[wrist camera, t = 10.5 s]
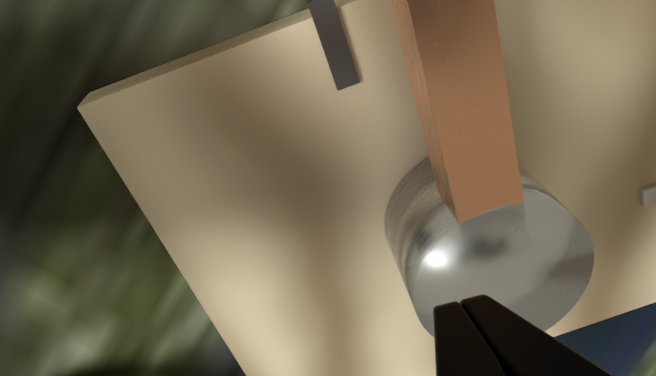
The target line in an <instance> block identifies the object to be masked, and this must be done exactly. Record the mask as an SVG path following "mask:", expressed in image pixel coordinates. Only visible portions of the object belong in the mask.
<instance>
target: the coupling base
mask: <svg viewBox="0 0 656 376" xmlns="http://www.w3.org/2000/svg"><path fill="white" fill-rule="evenodd" d="M307 4H308V7H309V8H308V9H306V10H303V11H301V12H298V13H295V14H293V15H290V16H288V17H285V18H282V19H280V20H277V21H275V22H272V23H269V24H267V25H264V26H262V27H259V28H256V29H254V30H251V31H248V32H246V33H243V34H241V35H238V36H235V37H233V38H230V39H228V40H225V41H222V42H220V43H217V44H215V45H212V46H209V47H207V48H204V49H202V50H199V51H196V52H194V53H191V54H189V55H186V56H183V57H181V58H178V59H175V60H173V61H170V62H168V63H165V64H162V65H160V66H157V67H155V68H152V69H149V70H147V71H144V72H142V73H139V74H136V75H134V76H131V77H129V78H126V79H123V80H121V81H118V82H116V83H113V84H110V85H108V86H105V87H102V88H100V89H97V90H95V91H92V92H89V94H88V95H87V96H86V97H85V98H84V99H83V101H82V102H81V103H80V104H79V105H78V107H77V109H78V110H79V112H80V113H81V115H82V116H83V118H84V120H85V121H86V123H87V124H88V126H89V128H90V129H91V131H92V132H93V134H94V135H95V137H96V139H97V140H98V142H99V143H100V145H101V147H102V148H103V150H104V151H105V153H106V154H107V156H108V158H109V159H110V161H111V162H112V164H113V166H114V167H115V169H116V170H117V172H118V173H119V175H120V177H121V178H122V180H123V181H124V183H125V184H126V186H127V188H128V189H129V191H130V192H131V194H132V196H133V197H134V199H135V200H136V202H137V203H138V205H139V207H140V208H141V210H142V211H143V213H144V215H145V216H146V218H147V219H148V221H149V222H150V224H151V226H152V227H153V229H154V230H155V232H156V234H157V235H158V237H159V238H160V240H161V241H162V243H163V245H164V246H165V248H166V249H167V251H168V253H169V254H170V256H171V257H172V259H173V260H174V262H175V264H176V265H177V267H178V268H179V270H180V272H181V273H182V275H183V276H184V278H185V279H186V281H187V283H188V284H189V286H190V287H191V289H192V291H193V292H194V294H195V295H196V297H197V298H198V300H199V302H200V303H201V305H202V306H203V308H204V310H205V311H206V313H207V314H208V316H209V317H210V319H211V321H212V322H213V324H214V325H215V327H216V328H217V330H218V332H219V333H220V335H221V336H222V338H223V340H224V341H225V343H226V344H227V346H228V347H229V349H230V351H231V352H232V354H233V355H234V357H235V359H236V360H237V362H238V363H239V365H240V366H241V368H242V370H243V371H244V373H245V374H246V376H436V364H435V342H434V337H433V336H431V335H430V334H429V333H428V332H427V331H426V330H425V328H424V327H423V326H422V324H421V323H420V321H419V319H418V316H417V314H416V311H415V309H414V307H413V304H412V302H411V299H410V297H409V294H408V292H407V289H406V287H405V284H404V282H403V279H402V277H401V274H400V272H399V269H398V267H397V264H396V262H395V259H394V257H393V254H392V252H391V249H390V247H389V244H388V242H387V239H386V235H385V228H384V219H385V212H386V208H387V204H388V202H389V199H390V197H391V195H392V193H393V191H394V189H395V188H396V186H397V185H398V183H399V182H400V181H401V179H402V178H403V177H404V176H405V175H406V174H407V173H408V172H409V171H410V170H411V169H412V168H413V167H415V166H416V165H417V164H419V163H420V162H421V161H423V160H424V159H426V158H428V157H429V154H428V149H427V145H426V141H425V137H424V133H423V129H422V125H421V121H420V117H419V113H418V109H417V105H416V101H415V97H414V93H413V89H412V85H411V80H410V76H409V72H408V68H407V64H406V60H405V56H404V52H403V48H402V44H401V40H400V36H399V32H398V28H397V24H396V20H395V15H394V11H393V7H392V3H391V0H310V1H308V2H307ZM494 4H495V11H496V18H497V24H498V31H499V38H500V45H501V52H502V58H503V65H504V72H505V79H506V85H507V92H508V99H509V106H510V113H511V119H512V126H513V133H514V140H515V146H516V153H517V160H518V162H519V163H520V164H522V165H523V166H524V167H525V168H526V169H527V170H528V171H529V172H530V173H531V174H532V175H533V176H534V177H535V178H536V179H537V180H538V181H539V182H540V183H541V184H542V185H543V186H544V187H545V188H546V189H547V190H548V191H549V192H550V193H551V194H552V195H553V196H554V197H555V198H556V199H557V200H558V201H559V202H561V203H562V204H563V205H564V206H565V207H566V208H567V209H568V210H569V211H570V212H571V213H572V214H573V215H574V216H575V217H576V218H577V219H578V220H579V221H580V222H581V223H582V225H583V226H584V227H585V228H586V230H587V232H588V233H589V235H590V238H591V241H592V243H593V249H594V265H593V271H592V275H591V278H590V281H589V283H588V285H587V287H586V289H585V291H584V293H583V294H582V296H581V298H580V299H579V301H578V302H577V303H576V304H575V306H574V307H573V308H572V309H571V310H570V311H569V312H568V313H567V314H566V315H565V316H564V317H563V318H562V319H561V320H560V321H559V322H557V323H556V324H555V325H553V326H552V327H551V328H549V329H548V330H546V331H545V332H546V333H547V334H549V335H551V336H552V337H555V336H558V335H561V334H564V333H566V332H569V331H572V330H575V329H578V328H581V327H584V326H587V325H590V324H593V323H596V322H599V321H602V320H604V319H607V318H610V317H613V316H616V315H619V314H622V313H625V312H628V311H631V310H634V309H637V308H640V307H642V306H645V305H648V304H651V303H654V302H656V0H494Z"/></svg>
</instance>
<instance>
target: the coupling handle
mask: <svg viewBox="0 0 656 376" xmlns="http://www.w3.org/2000/svg"><path fill="white" fill-rule="evenodd" d="M391 3H392V7H393V11H394V15H395V20H396V24H397V28H398V32H399V36H400V40H401V44H402V48H403V52H404V56H405V60H406V64H407V68H408V72H409V76H410V80H411V85H412V89H413V93H414V97H415V101H416V105H417V109H418V113H419V117H420V121H421V125H422V129H423V133H424V137H425V141H426V145H427V149H428V154H429V157H428V158H426V159H424V160H423V161H421V162H420V163H419V164H417V165H416V166H415V167H413V168H412V169H411V170H410V171H409V172H408V173H407V174H406V175H405V176H404V177H403V178H402V179H401V181H400V182H399V183H398V185H397V186H396V188H395V189H394V191H393V193H392V195H391V197H390V199H389V202H388V204H387V208H386V212H385V219H384V228H385V235H386V239H387V242H388V244H389V247H390V249H391V252H392V254H393V257H394V259H395V262H396V264H397V267H398V269H399V272H400V274H401V277H402V279H403V282H404V284H405V287H406V289H407V292H408V294H409V297H410V299H411V302H412V304H413V307H414V309H415V311H416V314H417V316H418V319H419V321H420V323H421V324H422V326H423V327H424V328H425V330H426V331H427V332H428V333H429V334H430V335H431V336H433V337H434V321H433V309H434V307H435V306H437V305H441V304H445V303H449V302H453V301H457V302H459V303H460V301H461V300H462V299H465V298H469V297H473V296H477V295H482V294H484V295H487V296H489V297H491V298H493V299H494V300H496V301H497V302H499V303H500V304H502V305H504V306H505V307H507V308H508V309H510V310H511V311H513V312H515V313H516V314H518V315H519V316H521V317H522V318H524V319H525V320H527V321H529V322H530V323H532V324H533V325H535V326H536V327H538V328H540V329H541V330H543V331H544V332H545V331H546V330H548V329H549V328H551V327H552V326H553V325H555V324H556V323H557V322H559V321H560V320H561V319H562V318H563V317H564V316H565V315H566V314H567V313H568V312H569V311H570V310H571V309H572V308H573V307H574V306H575V304H576V303H577V302H578V301H579V299H580V298H581V296H582V294H583V293H584V291H585V289H586V287H587V285H588V283H589V281H590V278H591V275H592V271H593V265H594V249H593V243H592V241H591V238H590V235H589V233H588V232H587V230H586V228H585V227H584V226H583V225H582V223H581V222H580V221H579V220H578V219H577V218H576V217H575V216H574V215H573V214H572V213H571V212H570V211H569V210H568V209H567V208H566V207H565V206H564V205H563V204H562V203H561V202H559V201H558V200H557V199H556V198H555V197H554V196H553V195H552V194H551V193H550V192H549V191H548V190H547V189H546V188H545V187H544V186H543V185H542V184H541V183H540V182H539V181H538V180H537V179H536V178H535V177H534V176H533V175H532V174H531V173H530V172H529V171H528V170H527V169H526V168H525V167H524V166H523V165H522V164H520V163H519V162H518V160H517V153H516V146H515V140H514V133H513V126H512V119H511V113H510V106H509V99H508V92H507V85H506V79H505V72H504V65H503V58H502V52H501V45H500V38H499V31H498V24H497V18H496V11H495V4H494V0H391Z"/></svg>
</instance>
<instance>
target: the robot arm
mask: <svg viewBox="0 0 656 376" xmlns="http://www.w3.org/2000/svg"><path fill="white" fill-rule="evenodd" d="M433 321H434V342H435V364H436V376H613V375H612V374H610V373H609V372H607V371H605V370H604V369H602V368H601V367H599V366H598V365H596V364H594V363H593V362H591V361H590V360H588V359H587V358H585V357H583V356H582V355H580V354H579V353H577V352H576V351H574V350H573V349H571V348H569V347H568V346H566V345H565V344H563V343H562V342H560V341H558V340H557V339H555V338H554V337H552V336H551V335H549V334H547V333H546V332H544V331H543V330H541V329H540V328H538V327H536V326H535V325H533V324H532V323H530V322H529V321H527V320H525V319H524V318H522V317H521V316H519V315H518V314H516V313H515V312H513V311H511V310H510V309H508V308H507V307H505V306H504V305H502V304H500V303H499V302H497V301H496V300H494V299H493V298H491V297H489V296H487V295H484V294H482V295H477V296H473V297H469V298H465V299H462V300H461V301H460V303H459V302H457V301H453V302H449V303H445V304H441V305H437V306H435V307H434V309H433Z"/></svg>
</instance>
